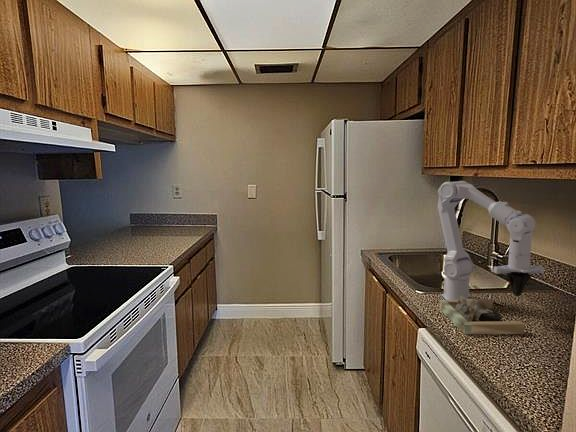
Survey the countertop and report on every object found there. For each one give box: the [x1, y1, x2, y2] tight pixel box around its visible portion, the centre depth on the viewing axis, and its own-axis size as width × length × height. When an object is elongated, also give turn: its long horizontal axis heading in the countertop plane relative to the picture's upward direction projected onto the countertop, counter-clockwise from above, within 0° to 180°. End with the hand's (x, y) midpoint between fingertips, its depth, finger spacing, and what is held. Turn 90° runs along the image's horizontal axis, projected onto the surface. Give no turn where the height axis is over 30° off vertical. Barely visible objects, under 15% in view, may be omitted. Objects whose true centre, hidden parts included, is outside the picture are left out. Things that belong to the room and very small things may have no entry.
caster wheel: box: [455, 296, 502, 322], centre depth 117 cm, size 7×11×10 cm
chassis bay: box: [438, 299, 526, 335], centre depth 117 cm, size 20×18×3 cm
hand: (516, 294), depth 116 cm, fingers closed
